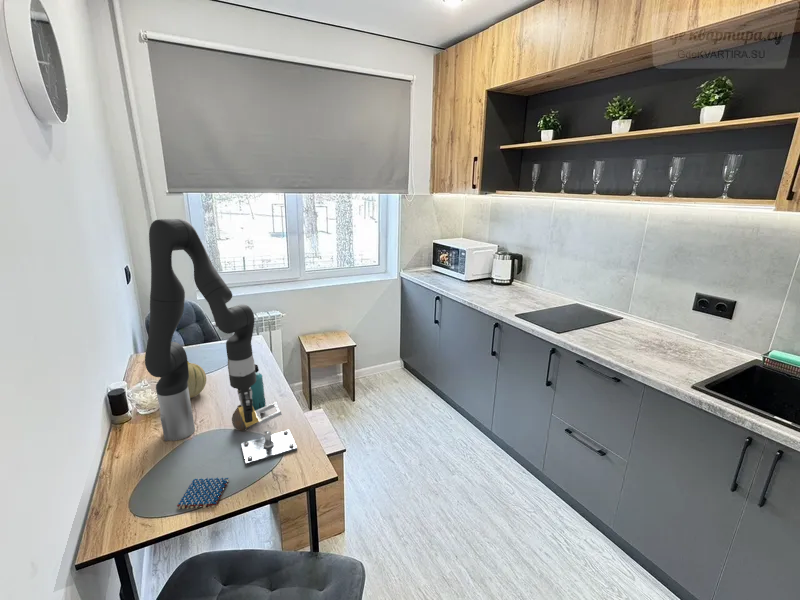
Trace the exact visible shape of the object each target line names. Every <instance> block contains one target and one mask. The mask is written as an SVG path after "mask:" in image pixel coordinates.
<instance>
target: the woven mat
mask: <svg viewBox="0 0 800 600" xmlns="http://www.w3.org/2000/svg"><path fill="white" fill-rule="evenodd" d="M227 480H228V481H229V482H230V480H229V477H223V476H222V477H219V478H218V476H217V477H211V478H210V477H209V478H208V477H207V478H203V477H201V478H198V477H197V478H194V479H193V480H192V481H191V483H190V484H189V487H188V488H187V489H186V491H185V493H184V494H183V496H182V497H181V498H180V501H179V502H178V504H177V505H176V506H177V507H178V508H177V510H183V509H186V510H189V509H193V508H195V509H198V508H197V507H200V506H202V509H206V508H207V509H209V508H210V507H211V508H212V509H213V508H215V507H216V506H217V505H218V504H219V501H220V499H221V497H222V495H223V494H222V493H224V490H225V489H224V490H223V488H224V487H225V488H226V487H227V486H228V485H227V484H229V482H227ZM226 483H227V484H226ZM225 485H226V486H225ZM200 486H201V487H200ZM214 492H215V493H214ZM221 492H222V493H221ZM217 494H218V495H217ZM221 494H222V495H221ZM218 496H220V497H218ZM216 501H217V502H216ZM206 506H207V507H206ZM185 507H186V508H185ZM188 508H189V509H188Z"/></svg>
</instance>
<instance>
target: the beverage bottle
mask: <svg viewBox="0 0 800 600" xmlns="http://www.w3.org/2000/svg"><path fill="white" fill-rule="evenodd" d="M259 371H260V369H259V365H258V364H255V372H256V382H255V384H254V385H252V386H251V389H252V400H253V404H252V405H253V408H254V410H255V411H256V410H258V409H260V408H263V407H265V406H267V402H266V397H265V388H264V387H265V386H264V381H263V379H264V378H263V375H262V373H260V372H259Z"/></svg>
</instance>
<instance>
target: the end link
mask: <svg viewBox="0 0 800 600" xmlns="http://www.w3.org/2000/svg"><path fill="white" fill-rule="evenodd" d="M252 406H253V405H252ZM273 408H275V410H276V411H275V412H273V413H271V414H268V415H266V416H264V417H262V416H261V414H262V413H265V412H267V411H269V410H271V409H273ZM239 412H240V414H241V417H242V419H243V421H244V423H245V426H246V427H248V426H250V427H252V425H255V424H257V423H259V425H260V426H261V425H262V424H265V423H267V422H269V421H271V420H274V419H275V418H277V417H280V416H282V411H281V409H280V407H279V405H278V402H277V401H273V402H272V403H270V404H266V406H265V407H263V408H260V409H258V410H256V411H255V410H254V408H253V412H252V418H253V421H252V422H248V423H246V422H245V417H244V412H243V407H242V406H241V407H239Z"/></svg>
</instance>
